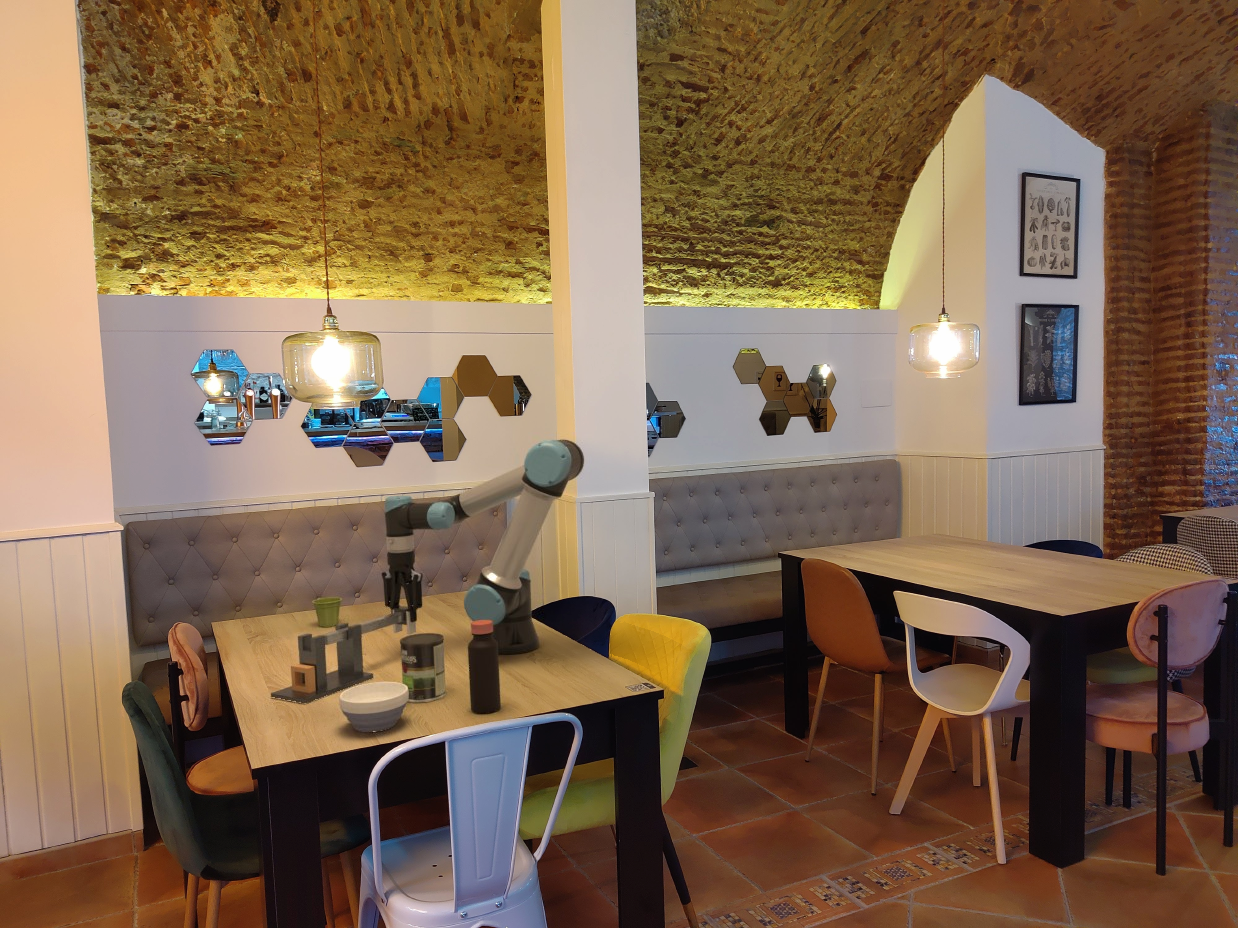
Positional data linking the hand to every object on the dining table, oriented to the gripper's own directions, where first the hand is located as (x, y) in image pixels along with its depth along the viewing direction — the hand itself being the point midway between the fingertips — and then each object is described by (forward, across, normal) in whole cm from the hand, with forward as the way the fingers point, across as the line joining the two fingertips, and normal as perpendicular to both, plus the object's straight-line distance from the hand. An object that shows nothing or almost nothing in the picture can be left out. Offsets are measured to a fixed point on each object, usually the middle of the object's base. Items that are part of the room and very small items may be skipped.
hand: (404, 632), depth 236 cm
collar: (+6, 0, -36) cm, 36 cm away
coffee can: (+7, +29, -24) cm, 39 cm away
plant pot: (+7, -54, +20) cm, 58 cm away
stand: (+7, 0, -30) cm, 30 cm away
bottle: (+7, +49, -26) cm, 56 cm away
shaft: (-3, 0, -14) cm, 14 cm away
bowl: (+7, +33, -44) cm, 56 cm away
